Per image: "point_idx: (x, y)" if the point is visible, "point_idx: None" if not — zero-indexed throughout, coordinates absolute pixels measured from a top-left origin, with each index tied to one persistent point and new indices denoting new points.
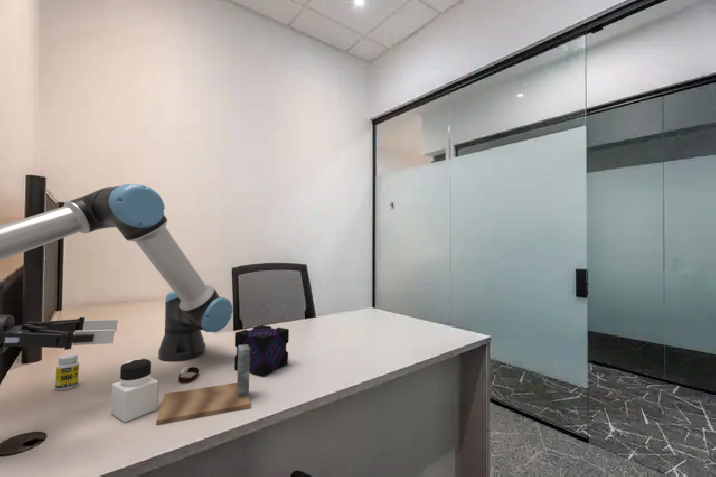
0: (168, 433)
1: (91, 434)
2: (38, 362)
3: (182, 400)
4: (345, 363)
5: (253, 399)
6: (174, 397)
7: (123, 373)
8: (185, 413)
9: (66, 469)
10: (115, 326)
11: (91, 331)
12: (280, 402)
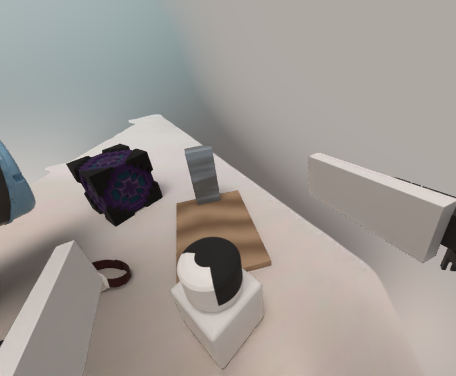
0: (290, 244)
1: (304, 362)
2: None
3: None
4: (162, 154)
5: None
6: None
7: (237, 280)
8: (253, 235)
9: (404, 336)
10: (90, 266)
11: (381, 175)
12: (231, 178)
